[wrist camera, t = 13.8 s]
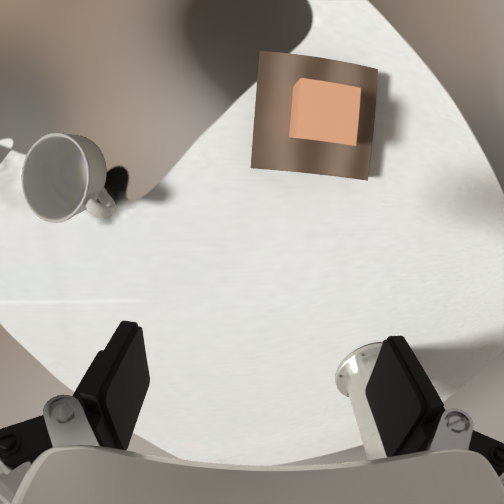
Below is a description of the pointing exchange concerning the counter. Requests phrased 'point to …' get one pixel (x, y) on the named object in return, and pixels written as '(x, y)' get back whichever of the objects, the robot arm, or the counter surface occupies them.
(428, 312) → the counter surface
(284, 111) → the walnut base
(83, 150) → the teacup
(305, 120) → the terracotta cube
